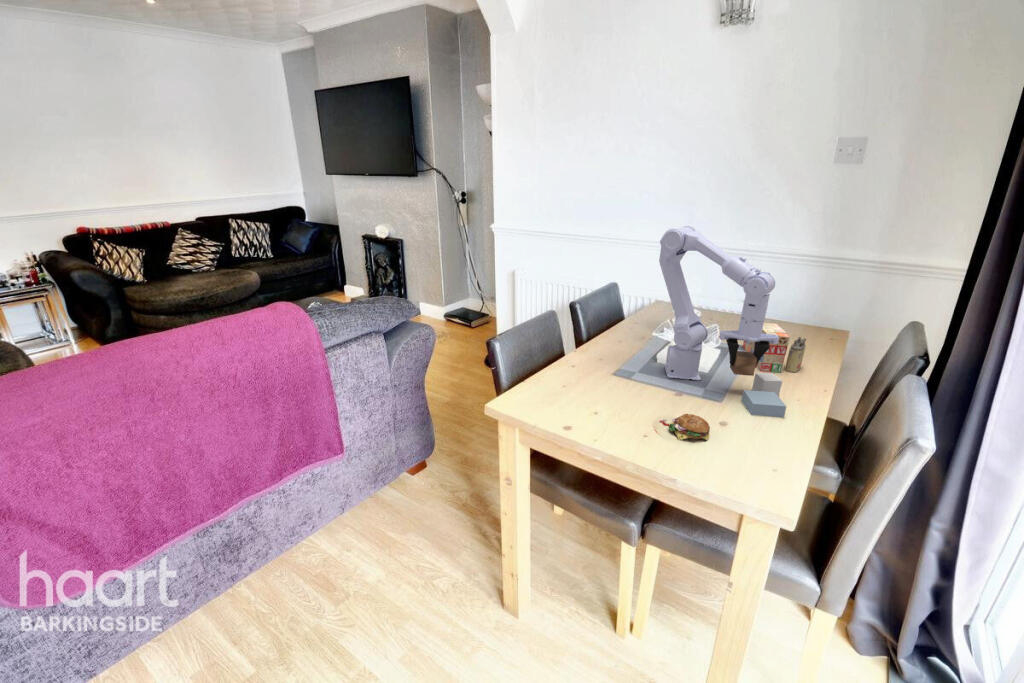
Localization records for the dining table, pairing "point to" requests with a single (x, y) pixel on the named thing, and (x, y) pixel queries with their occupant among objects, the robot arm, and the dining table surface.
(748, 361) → the walnut cube
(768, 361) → the stack of blocks
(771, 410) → the base block
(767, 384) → the grey cube
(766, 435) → the dining table surface
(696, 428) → the hamburger
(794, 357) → the lighter
